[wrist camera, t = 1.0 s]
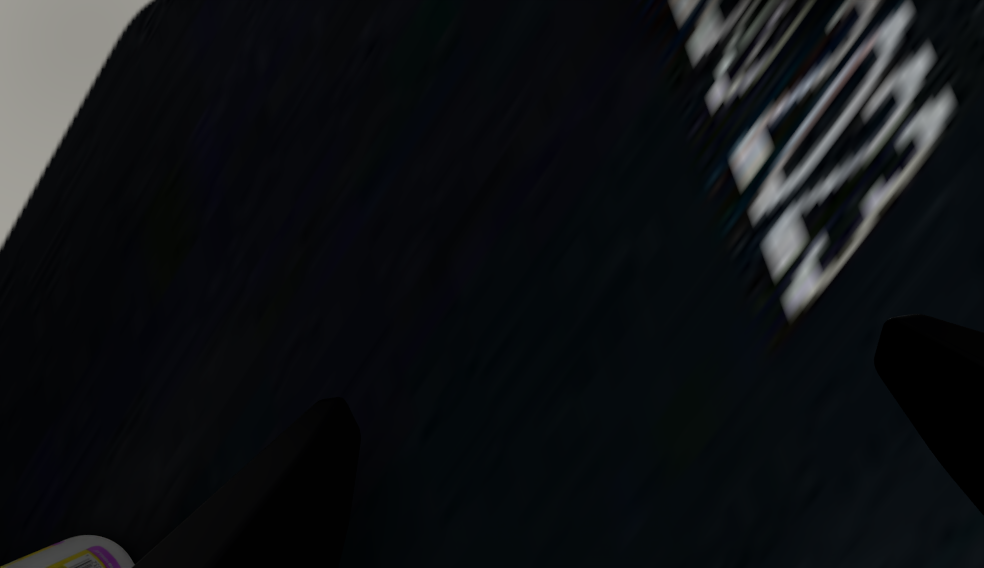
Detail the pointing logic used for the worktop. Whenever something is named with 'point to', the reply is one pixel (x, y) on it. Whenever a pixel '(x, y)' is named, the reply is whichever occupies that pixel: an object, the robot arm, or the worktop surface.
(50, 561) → the supplement bottle
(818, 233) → the worktop surface
